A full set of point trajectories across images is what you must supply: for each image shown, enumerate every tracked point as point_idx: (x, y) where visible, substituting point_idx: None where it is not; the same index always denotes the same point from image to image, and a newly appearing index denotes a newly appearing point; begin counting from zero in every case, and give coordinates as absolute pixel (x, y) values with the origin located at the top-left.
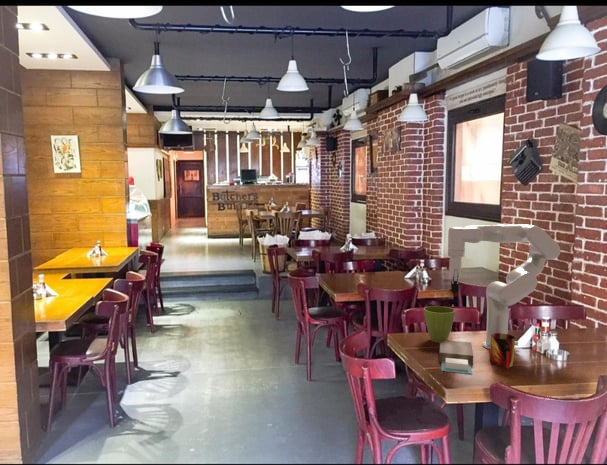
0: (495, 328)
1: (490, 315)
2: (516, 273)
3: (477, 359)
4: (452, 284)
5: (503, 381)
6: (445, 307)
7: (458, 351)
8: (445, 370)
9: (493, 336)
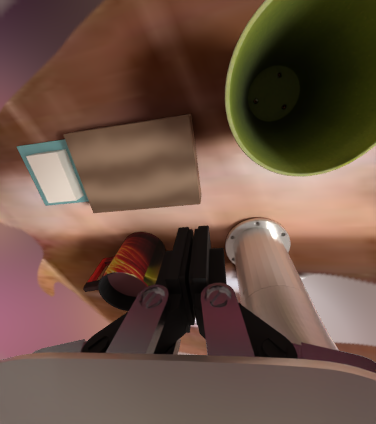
0: (238, 276)
1: (253, 294)
2: None
3: (143, 210)
4: (169, 279)
5: (52, 249)
6: None
7: (103, 180)
8: (22, 155)
9: (138, 272)
